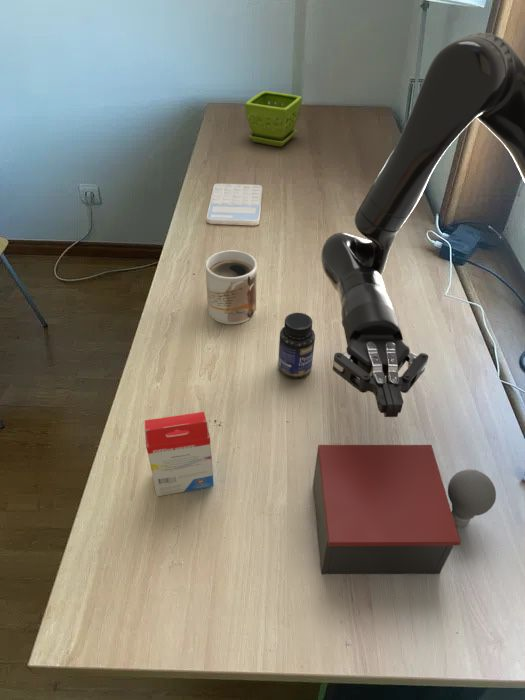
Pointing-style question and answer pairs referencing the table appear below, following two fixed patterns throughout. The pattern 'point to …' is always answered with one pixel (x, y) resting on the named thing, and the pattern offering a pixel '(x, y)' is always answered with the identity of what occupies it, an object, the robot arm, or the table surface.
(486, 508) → the light bulb
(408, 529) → the lid
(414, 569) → the gray open box
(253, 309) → the mug
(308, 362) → the pill bottle
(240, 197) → the calculator
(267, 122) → the flower pot
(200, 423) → the ink box
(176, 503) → the table surface
